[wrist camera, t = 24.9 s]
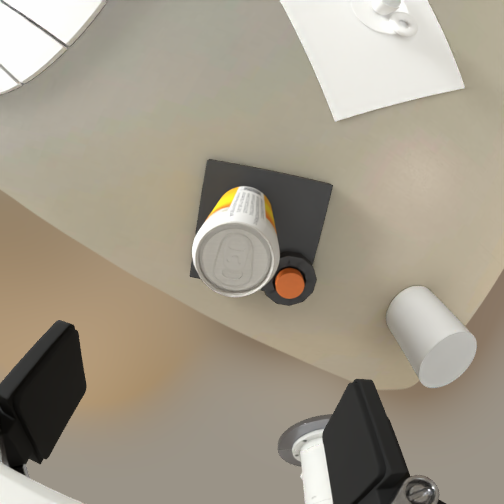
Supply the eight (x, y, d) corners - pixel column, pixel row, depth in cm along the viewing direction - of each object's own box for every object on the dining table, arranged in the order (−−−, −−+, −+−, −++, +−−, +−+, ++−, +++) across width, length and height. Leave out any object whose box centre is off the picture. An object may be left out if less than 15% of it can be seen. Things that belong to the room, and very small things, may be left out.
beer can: (213, 233, 36) (184, 293, 22) (221, 181, 34) (194, 208, 20) (266, 243, 36) (270, 309, 22) (276, 190, 34) (289, 225, 20)
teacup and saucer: (420, 37, 28) (435, 28, 24) (368, 45, 29) (380, 36, 25) (391, -19, 25) (402, -31, 21) (338, -13, 26) (346, -27, 23)
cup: (421, 337, 42) (455, 387, 31) (377, 331, 41) (407, 387, 30) (442, 290, 39) (487, 334, 28) (398, 281, 39) (440, 328, 28)
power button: (299, 294, 37) (300, 301, 35) (272, 290, 37) (272, 296, 35) (306, 270, 36) (307, 275, 34) (278, 265, 36) (279, 270, 34)
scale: (304, 297, 40) (308, 308, 37) (191, 276, 39) (186, 286, 36) (334, 184, 35) (341, 188, 32) (209, 159, 34) (204, 160, 32)
